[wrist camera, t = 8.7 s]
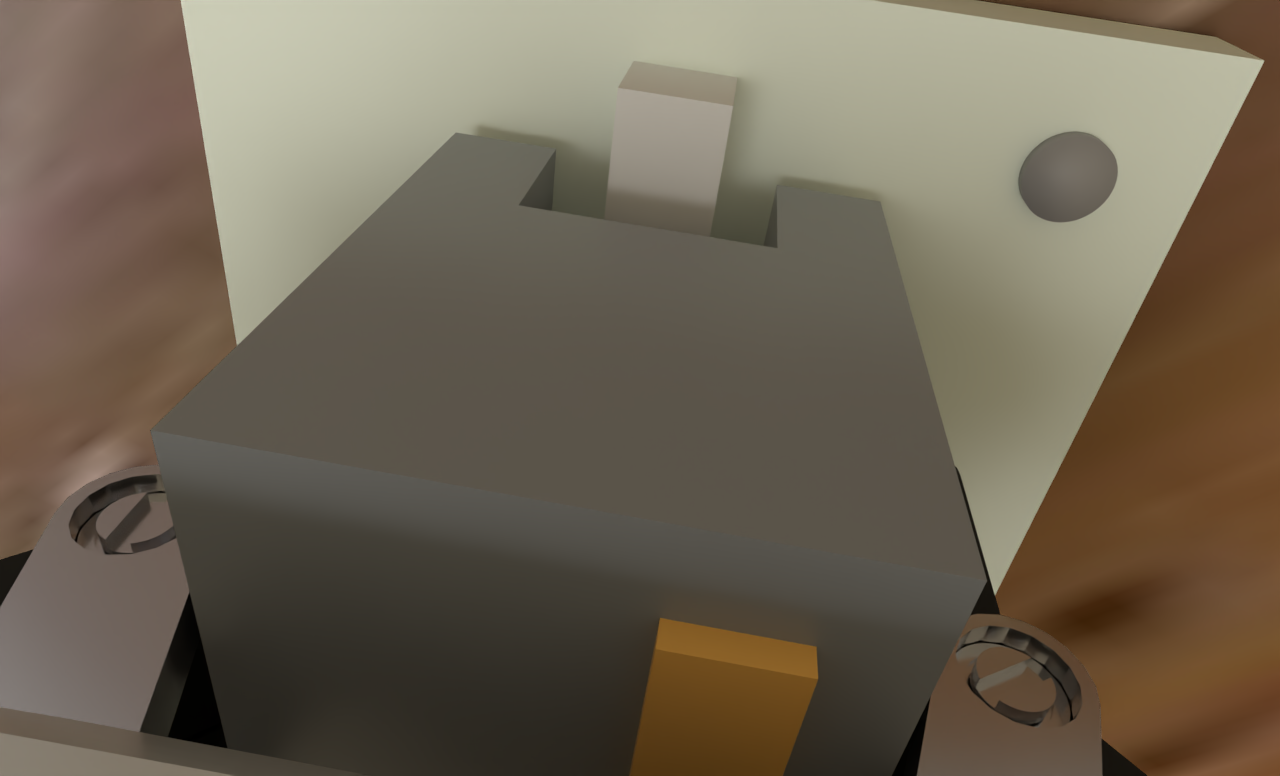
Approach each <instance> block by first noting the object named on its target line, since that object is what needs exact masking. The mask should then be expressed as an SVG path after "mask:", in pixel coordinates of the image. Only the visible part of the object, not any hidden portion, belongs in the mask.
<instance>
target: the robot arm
mask: <svg viewBox="0 0 1280 776" xmlns="http://www.w3.org/2000/svg"><path fill="white" fill-rule="evenodd" d="M955 468H956V472H957V476H958V479H959V483H960V486H961V490H962V493H963V497H964V500H965V504H966V507H967V511H968V515H969V518H970V522H971V525H972V529H973V532H974V536H975V539H976V543H977V547H978V550H979V554H980V557H981V561H982V564H983V568H984V571H985V575H986V578H987V582H986V584H985V586H984V588H983V590H982V592H981V594H980V596H979V598H978V600H977V602H976V604H975V606H974V608H973V610H972V613H971V615H970V617H969V619H968V621H967V623H966V625H965V627H964V629H963V631H962V633H961V635H960V637H959V639H958V641H957V643H956V645H955V647H954V649H953V651H952V653H951V655H950V658H949V660H948V662H947V664H946V666H945V668H944V670H943V672H942V674H941V676H940V678H939V680H938V682H937V684H936V686H935V688H934V690H933V692H932V694H931V696H930V698H929V700H928V702H927V705H926V707H925V709H924V711H923V713H922V715H921V717H920V719H919V721H918V723H917V725H916V727H915V729H914V731H913V733H912V735H911V737H910V739H909V741H908V743H907V745H906V747H905V750H904V752H903V754H902V756H901V758H900V760H899V762H898V764H897V766H896V768H895V770H894V772H893V774H892V776H1147V775H1146V774H1145V773H1143V772H1142V771H1141V770H1140V769H1138V768H1137V767H1136V766H1135V765H1134V764H1132V763H1131V762H1130V761H1129V760H1127V759H1126V758H1125V757H1124V756H1122V755H1121V754H1120V753H1119V752H1117V751H1116V750H1115V749H1114V748H1112V747H1111V746H1110V745H1109V744H1108V743H1106V742H1105V741H1104V740H1103V739H1101V711H1100V702H1099V698H1098V694H1097V689H1096V686H1095V684H1094V682H1093V681H1092V679H1091V677H1090V676H1089V674H1088V672H1087V670H1086V669H1085V667H1084V666H1083V665H1082V663H1081V662H1080V661H1079V660H1078V659H1077V658H1076V657H1075V656H1074V655H1073V654H1072V653H1071V652H1070V651H1069V650H1068V649H1067V647H1065V646H1064V645H1062V644H1061V643H1060V642H1058V641H1057V640H1056V639H1054V638H1053V637H1051V636H1050V635H1049V634H1047V633H1046V632H1044V631H1042V630H1040V629H1038V628H1036V627H1034V626H1032V625H1030V624H1028V623H1026V622H1024V621H1021V620H1017V619H1014V618H1010V617H1006V616H1002V615H1000V612H999V608H998V605H997V601H996V598H995V594H994V591H993V587H992V584H991V580H990V577H989V573H988V570H987V566H986V563H985V559H984V556H983V552H982V549H981V545H980V542H979V538H978V535H977V531H976V528H975V524H974V521H973V517H972V514H971V510H970V507H969V503H968V500H967V496H966V493H965V489H964V486H963V482H962V479H961V475H960V473H959V471H958V469H957V467H955ZM0 776H369V775H364V774H359V773H354V772H348V771H343V770H338V769H333V768H328V767H322V766H317V765H312V764H306V763H301V762H296V761H291V760H285V759H280V758H275V757H269V756H264V755H259V754H253V753H248V752H243V751H237V750H232V749H228V748H227V744H226V740H225V735H224V731H223V727H222V723H221V719H220V715H219V711H218V707H217V702H216V698H215V694H214V690H213V686H212V682H211V678H210V674H209V670H208V665H207V661H206V657H205V653H204V649H203V645H202V641H201V637H200V632H199V628H198V624H197V620H196V616H195V612H194V608H193V604H192V600H191V595H190V591H189V587H188V583H187V579H186V575H185V571H184V567H183V562H182V558H181V554H180V550H179V546H178V542H177V538H176V534H175V530H174V525H173V521H172V517H171V513H170V509H169V505H168V501H167V497H166V493H165V488H164V484H163V480H162V476H161V472H160V468H159V465H150V466H139V467H133V468H129V469H125V470H121V471H118V472H114V473H110V474H108V475H106V476H103V477H101V478H99V479H97V480H95V481H92V482H90V483H88V484H86V485H85V486H83V487H82V488H81V489H79V490H78V491H76V492H75V493H74V494H72V495H71V496H69V497H68V498H67V499H66V500H65V501H64V503H63V504H62V505H61V506H60V507H59V509H58V510H57V511H56V512H55V513H54V515H53V517H52V519H51V520H50V522H49V524H48V526H47V527H46V529H45V531H44V532H43V534H42V536H41V538H40V539H39V541H38V543H37V544H36V546H35V548H34V550H30V551H27V552H24V553H21V554H18V555H14V556H11V557H8V558H5V559H1V560H0Z"/></svg>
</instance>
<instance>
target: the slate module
mask: <svg viewBox="0 0 1280 776" xmlns="http://www.w3.org/2000/svg"><path fill="white" fill-rule="evenodd" d="M555 159H556V149H555V148H548V147H542V146H536V145H530V144H524V143H518V142H512V141H505V140H499V139H493V138H487V137H481V136H475V135H469V134H462V133H455V134H454V135H453V136H452V137H451V138H450V139H449V140H448V141H447V142H446V143H444V144H443V145H442V146H441V147H440V148H439V149H438V150H437V151H436V152H435V153H434V154H433V155H432V156H431V157H430V158H429V159H428V160H427V161H426V162H425V163H424V164H423V165H422V166H421V167H420V168H419V169H418V170H417V171H416V172H415V173H414V174H413V175H412V176H411V177H410V178H409V179H408V180H407V181H406V182H404V183H403V184H402V185H401V186H400V187H399V188H398V189H397V190H396V191H395V192H394V193H393V194H392V195H391V196H390V197H389V198H388V199H387V200H386V201H385V202H384V203H383V204H382V205H381V206H380V207H379V208H378V209H377V210H376V211H375V212H374V213H373V214H372V215H371V216H370V217H369V218H368V219H367V220H366V221H365V222H363V223H362V224H361V225H360V226H359V227H358V228H357V229H356V230H355V231H354V232H353V233H352V234H351V235H350V236H349V237H348V238H347V239H346V240H345V241H344V242H343V243H342V244H341V245H340V246H339V247H338V248H337V249H336V250H335V251H334V252H333V253H332V254H331V255H330V256H329V257H328V258H327V259H326V260H325V261H323V262H322V263H321V264H320V265H319V266H318V267H317V268H316V269H315V270H314V271H313V272H312V273H311V274H310V275H309V276H308V277H307V278H306V279H305V280H304V281H303V282H302V283H301V284H300V285H299V286H298V287H297V288H296V289H295V290H294V291H293V292H292V293H291V294H290V295H289V296H288V297H287V298H286V299H285V300H284V301H282V302H281V303H280V304H279V305H278V306H277V307H276V308H275V309H274V310H273V311H272V312H271V313H270V314H269V315H268V316H267V317H266V318H265V319H264V320H263V321H262V322H261V323H260V324H259V325H258V326H257V327H256V328H255V329H254V330H253V331H252V332H251V333H250V334H249V335H248V336H247V337H246V338H245V339H244V340H242V341H241V342H240V343H239V344H238V345H237V346H236V347H235V348H234V349H233V350H232V351H231V352H230V353H229V354H228V355H227V356H226V357H225V358H224V359H223V360H222V361H221V362H220V363H219V364H218V365H217V366H216V367H215V368H214V369H213V370H212V371H211V372H210V373H209V374H208V375H207V376H206V377H205V378H204V379H203V380H201V381H200V382H199V383H198V384H197V385H196V386H195V387H194V388H193V389H192V390H191V391H190V392H189V393H188V394H187V395H186V396H185V397H184V398H183V399H182V400H181V401H180V402H179V403H178V404H177V405H176V406H175V407H174V408H173V409H172V410H171V411H170V412H169V413H168V414H167V415H166V416H165V417H164V418H163V419H161V420H160V421H159V422H158V423H157V424H156V425H155V426H154V427H153V428H152V429H151V430H150V431H151V435H152V439H153V443H154V447H155V451H156V455H157V460H158V464H159V468H160V472H161V476H162V480H163V484H164V488H165V493H166V497H167V501H168V505H169V509H170V513H171V517H172V521H173V525H174V530H175V534H176V538H177V542H178V546H179V550H180V554H181V558H182V562H183V567H184V571H185V575H186V579H187V583H188V587H189V591H190V595H191V600H192V604H193V608H194V612H195V616H196V620H197V624H198V628H199V632H200V637H201V641H202V645H203V649H204V653H205V657H206V661H207V665H208V670H209V674H210V678H211V682H212V686H213V690H214V694H215V698H216V702H217V707H218V711H219V715H220V719H221V723H222V727H223V731H224V735H225V740H226V744H227V748H228V749H232V750H237V751H243V752H248V753H253V754H259V755H264V756H269V757H275V758H280V759H285V760H291V761H296V762H301V763H306V764H312V765H317V766H322V767H328V768H333V769H338V770H343V771H348V772H354V773H359V774H364V775H369V776H892V774H893V772H894V770H895V768H896V766H897V764H898V762H899V760H900V758H901V756H902V754H903V752H904V750H905V747H906V745H907V743H908V741H909V739H910V737H911V735H912V733H913V731H914V729H915V727H916V725H917V723H918V721H919V719H920V717H921V715H922V713H923V711H924V709H925V707H926V705H927V702H928V700H929V698H930V696H931V694H932V692H933V690H934V688H935V686H936V684H937V682H938V680H939V678H940V676H941V674H942V672H943V670H944V668H945V666H946V664H947V662H948V660H949V658H950V655H951V653H952V651H953V649H954V647H955V645H956V643H957V641H958V639H959V637H960V635H961V633H962V631H963V629H964V627H965V625H966V623H967V621H968V619H969V617H970V615H971V613H972V610H973V608H974V606H975V604H976V602H977V600H978V598H979V596H980V594H981V592H982V590H983V588H984V586H985V584H986V582H987V578H986V575H985V571H984V568H983V564H982V561H981V557H980V554H979V550H978V547H977V543H976V539H975V536H974V532H973V529H972V525H971V522H970V518H969V515H968V511H967V507H966V504H965V500H964V497H963V493H962V490H961V486H960V483H959V479H958V476H957V472H956V468H955V465H954V461H953V458H952V454H951V451H950V447H949V444H948V440H947V436H946V433H945V429H944V426H943V422H942V419H941V415H940V412H939V408H938V404H937V401H936V397H935V394H934V390H933V387H932V383H931V380H930V376H929V373H928V369H927V365H926V362H925V358H924V355H923V351H922V348H921V344H920V341H919V337H918V333H917V330H916V326H915V323H914V319H913V316H912V312H911V309H910V305H909V302H908V298H907V294H906V291H905V287H904V284H903V280H902V277H901V273H900V270H899V266H898V262H897V259H896V255H895V252H894V248H893V245H892V241H891V238H890V234H889V231H888V227H887V223H886V220H885V216H884V213H883V209H882V206H881V202H880V201H874V200H868V199H862V198H855V197H849V196H843V195H837V194H831V193H825V192H819V191H812V190H806V189H800V188H794V187H788V186H782V185H777V187H776V191H775V196H774V200H773V205H772V210H771V214H770V219H769V223H768V228H767V232H766V237H765V242H764V246H761V245H755V244H749V243H743V242H737V241H731V240H725V239H719V238H713V237H707V236H700V235H694V234H688V233H682V232H676V231H670V230H664V229H658V228H652V227H646V226H640V225H634V224H628V223H622V222H616V221H610V220H604V219H598V218H592V217H586V216H580V215H574V214H568V213H562V212H556V211H552V203H553V188H554V173H555Z"/></svg>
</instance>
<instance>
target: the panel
mask: <svg viewBox="0 0 1280 776" xmlns="http://www.w3.org/2000/svg"><path fill="white" fill-rule="evenodd" d="M181 5H182V11H183V17H184V23H185V29H186V35H187V42H188V48H189V54H190V60H191V66H192V72H193V78H194V85H195V91H196V97H197V103H198V109H199V115H200V121H201V127H202V134H203V140H204V146H205V152H206V158H207V164H208V170H209V177H210V183H211V189H212V195H213V201H214V207H215V213H216V220H217V226H218V232H219V238H220V244H221V250H222V256H223V263H224V269H225V275H226V281H227V287H228V293H229V299H230V306H231V312H232V318H233V324H234V330H235V336H236V342H237V345H238V344H239V343H240V342H241V341H242V340H244V339H245V338H246V337H247V336H248V335H249V334H250V333H251V332H252V331H253V330H254V329H255V328H256V327H257V326H258V325H259V324H260V323H261V322H262V321H263V320H264V319H265V318H266V317H267V316H268V315H269V314H270V313H271V312H272V311H273V310H274V309H275V308H276V307H277V306H278V305H279V304H280V303H281V302H282V301H284V300H285V299H286V298H287V297H288V296H289V295H290V294H291V293H292V292H293V291H294V290H295V289H296V288H297V287H298V286H299V285H300V284H301V283H302V282H303V281H304V280H305V279H306V278H307V277H308V276H309V275H310V274H311V273H312V272H313V271H314V270H315V269H316V268H317V267H318V266H319V265H320V264H321V263H322V262H323V261H325V260H326V259H327V258H328V257H329V256H330V255H331V254H332V253H333V252H334V251H335V250H336V249H337V248H338V247H339V246H340V245H341V244H342V243H343V242H344V241H345V240H346V239H347V238H348V237H349V236H350V235H351V234H352V233H353V232H354V231H355V230H356V229H357V228H358V227H359V226H360V225H361V224H362V223H363V222H365V221H366V220H367V219H368V218H369V217H370V216H371V215H372V214H373V213H374V212H375V211H376V210H377V209H378V208H379V207H380V206H381V205H382V204H383V203H384V202H385V201H386V200H387V199H388V198H389V197H390V196H391V195H392V194H393V193H394V192H395V191H396V190H397V189H398V188H399V187H400V186H401V185H402V184H403V183H404V182H406V181H407V180H408V179H409V178H410V177H411V176H412V175H413V174H414V173H415V172H416V171H417V170H418V169H419V168H420V167H421V166H422V165H423V164H424V163H425V162H426V161H427V160H428V159H429V158H430V157H431V156H432V155H433V154H434V153H435V152H436V151H437V150H438V149H439V148H440V147H441V146H442V145H443V144H444V143H446V142H447V141H448V140H449V139H450V138H451V137H452V136H453V135H454V134H455V133H462V134H469V135H475V136H481V137H487V138H493V139H499V140H505V141H512V142H518V143H524V144H530V145H536V146H542V147H548V148H555V149H556V159H555V173H554V188H553V203H552V211H556V212H562V213H568V214H574V215H580V216H586V217H592V218H598V219H604V220H610V221H616V222H622V223H628V224H634V225H640V226H646V227H652V228H658V229H664V230H670V231H676V232H682V233H688V234H694V235H700V236H707V237H713V238H719V239H725V240H731V241H737V242H743V243H749V244H755V245H761V246H764V242H765V237H766V232H767V228H768V223H769V219H770V214H771V210H772V205H773V200H774V196H775V191H776V187H777V185H782V186H788V187H794V188H800V189H806V190H812V191H819V192H825V193H831V194H837V195H843V196H849V197H855V198H862V199H868V200H874V201H880V202H881V206H882V209H883V213H884V216H885V220H886V223H887V227H888V231H889V234H890V238H891V241H892V245H893V248H894V252H895V255H896V259H897V262H898V266H899V270H900V273H901V277H902V280H903V284H904V287H905V291H906V294H907V298H908V302H909V305H910V309H911V312H912V316H913V319H914V323H915V326H916V330H917V333H918V337H919V341H920V344H921V348H922V351H923V355H924V358H925V362H926V365H927V369H928V373H929V376H930V380H931V383H932V387H933V390H934V394H935V397H936V401H937V404H938V408H939V412H940V415H941V419H942V422H943V426H944V429H945V433H946V436H947V440H948V444H949V447H950V451H951V454H952V458H953V461H954V465H955V467H957V469H958V471H959V473H960V475H961V479H962V482H963V486H964V489H965V493H966V496H967V500H968V503H969V507H970V510H971V514H972V517H973V521H974V524H975V528H976V531H977V535H978V538H979V542H980V545H981V549H982V552H983V556H984V559H985V563H986V566H987V570H988V573H989V577H990V580H991V584H992V587H993V591H994V594H996V592H997V590H998V588H999V586H1000V584H1001V582H1002V580H1003V578H1004V576H1005V574H1006V572H1007V570H1008V568H1009V566H1010V565H1011V563H1012V561H1013V559H1014V557H1015V555H1016V553H1017V551H1018V549H1019V547H1020V545H1021V543H1022V541H1023V539H1024V537H1025V535H1026V533H1027V531H1028V529H1029V527H1030V525H1031V523H1032V521H1033V519H1034V517H1035V515H1036V513H1037V511H1038V509H1039V507H1040V505H1041V503H1042V501H1043V499H1044V497H1045V495H1046V493H1047V491H1048V489H1049V487H1050V485H1051V483H1052V481H1053V479H1054V477H1055V475H1056V473H1057V471H1058V469H1059V467H1060V465H1061V463H1062V461H1063V459H1064V457H1065V455H1066V453H1067V451H1068V449H1069V448H1070V446H1071V444H1072V442H1073V440H1074V438H1075V436H1076V434H1077V432H1078V430H1079V428H1080V426H1081V424H1082V422H1083V420H1084V418H1085V416H1086V414H1087V412H1088V410H1089V408H1090V406H1091V404H1092V402H1093V400H1094V398H1095V396H1096V394H1097V392H1098V390H1099V388H1100V386H1101V384H1102V382H1103V380H1104V378H1105V376H1106V374H1107V372H1108V370H1109V368H1110V366H1111V364H1112V362H1113V360H1114V358H1115V356H1116V354H1117V352H1118V350H1119V348H1120V346H1121V344H1122V342H1123V340H1124V338H1125V336H1126V334H1127V332H1128V330H1129V329H1130V327H1131V325H1132V323H1133V321H1134V319H1135V317H1136V315H1137V313H1138V311H1139V309H1140V307H1141V305H1142V303H1143V301H1144V299H1145V297H1146V295H1147V293H1148V291H1149V289H1150V287H1151V285H1152V283H1153V281H1154V279H1155V277H1156V275H1157V273H1158V271H1159V269H1160V267H1161V265H1162V263H1163V261H1164V259H1165V257H1166V255H1167V253H1168V251H1169V249H1170V247H1171V245H1172V243H1173V241H1174V239H1175V237H1176V235H1177V233H1178V231H1179V229H1180V227H1181V225H1182V223H1183V221H1184V219H1185V217H1186V215H1187V213H1188V212H1189V210H1190V208H1191V206H1192V204H1193V202H1194V200H1195V198H1196V196H1197V194H1198V192H1199V190H1200V188H1201V186H1202V184H1203V182H1204V180H1205V178H1206V176H1207V174H1208V172H1209V170H1210V168H1211V166H1212V164H1213V162H1214V160H1215V158H1216V156H1217V154H1218V152H1219V150H1220V148H1221V146H1222V144H1223V142H1224V140H1225V138H1226V136H1227V134H1228V132H1229V130H1230V128H1231V126H1232V124H1233V122H1234V120H1235V118H1236V116H1237V114H1238V112H1239V110H1240V108H1241V106H1242V104H1243V102H1244V100H1245V98H1246V96H1247V95H1248V93H1249V91H1250V89H1251V87H1252V85H1253V83H1254V81H1255V79H1256V77H1257V75H1258V73H1259V71H1260V69H1261V67H1262V65H1263V63H1264V60H1262V59H1260V58H1258V57H1256V56H1254V55H1252V54H1250V53H1248V52H1246V51H1244V50H1242V49H1240V48H1238V47H1236V46H1234V45H1232V44H1230V43H1228V42H1226V41H1223V40H1221V39H1219V38H1217V37H1213V36H1207V35H1200V34H1194V33H1187V32H1181V31H1174V30H1168V29H1161V28H1154V27H1148V26H1141V25H1135V24H1128V23H1122V22H1115V21H1109V20H1102V19H1096V18H1089V17H1083V16H1076V15H1069V14H1063V13H1056V12H1050V11H1043V10H1037V9H1030V8H1024V7H1017V6H1011V5H1004V4H998V3H991V2H985V1H978V0H181Z"/></svg>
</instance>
